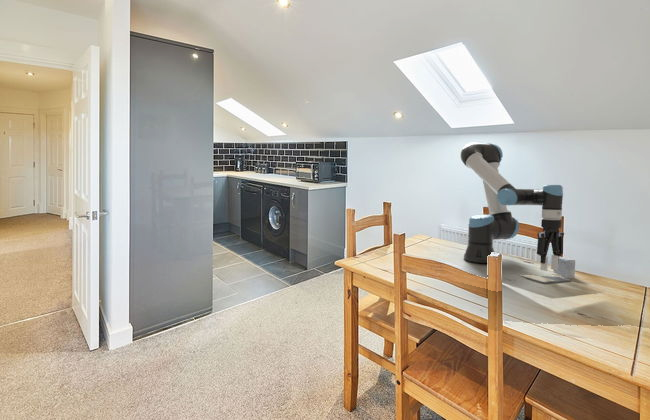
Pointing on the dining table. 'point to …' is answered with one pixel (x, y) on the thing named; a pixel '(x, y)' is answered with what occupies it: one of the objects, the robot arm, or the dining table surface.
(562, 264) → the medicine box
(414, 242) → the dining table surface
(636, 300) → the dining table surface
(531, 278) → the mat
